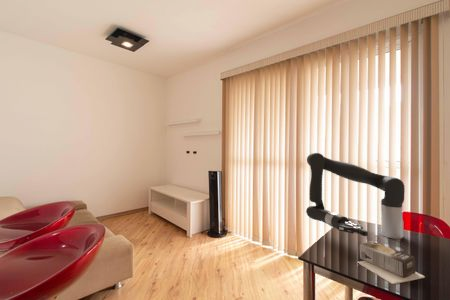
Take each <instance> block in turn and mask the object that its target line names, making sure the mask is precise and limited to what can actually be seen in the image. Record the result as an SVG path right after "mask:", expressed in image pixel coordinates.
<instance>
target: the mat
mask: <svg viewBox="0 0 450 300" xmlns="http://www.w3.org/2000/svg"><path fill="white" fill-rule="evenodd" d="M356 263H357V264H358V263H359V264H358V265H360V266H362V267H363V268H365V269H367V270H368V271H369V272H372V273H373V274H375V275H377V276H378V277H379V278H381V279H383V280H385V281H386V282H387V283H389V284H390V285H397V284H401V283H406V282H410V281H415V280H420V279H425V278H426V277H425V275H423V274H421V273H419V272H417V271H415V273H413V274H411V275H409V276H407V277H405V278H403V277H400V276H398V275H396V274H394V273H392V272H390V271H387V270H385V269H383V268H381V267H379V266H376V265H374V264H372V263H370V262H368V261H365V260H360V261H357V262H356Z"/></svg>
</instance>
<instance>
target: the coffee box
mask: <svg viewBox="0 0 450 300" xmlns="http://www.w3.org/2000/svg"><path fill="white" fill-rule="evenodd" d="M359 259H361V260H362V261H368V262H370V263H372V264H374V265H376V266H379V267H381V268H383V269H385V270H387V271H390V272H392V273H394V274H396V275H398V276H400V277H403V278H405V277H407V276H409V275H411V274H413V273H415V272H416V257H415V256H414V255H411V254H409V253H407V252H403V251H400V250H398V249H394V248H392V247H389V246H386V245H383V244H380V243H378V242H376V241H373V240H369V241H367V242H365V243H364V242H363V243H362V244H359Z"/></svg>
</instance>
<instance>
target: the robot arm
mask: <svg viewBox="0 0 450 300" xmlns="http://www.w3.org/2000/svg"><path fill="white" fill-rule="evenodd" d="M306 163H307V164H308V165H309V166H310V175H311V177H310V184H309V202H311V203H315V205H311V206H308V207H307V208H306V210H305V213H306V215H307V216H308V217H309V219H312V220H315V221H318V222H319V221H320V222H323V223H325V224H326V225H328V226H329V227H331V228H334V229H336V230H338V231H340V232H343V233H344V232H345V233H348V234H349V233H350V234H358V235H361V236H362V237H368V236H369V235H368V234H369V233H368V230H365V229H363V225H362V223H360V222H358V223H357V224H356V223H354V222H352V221H350V220H349V218H348V217H346V216H344V215H341V214H339V213H336V212H334V211H333V212H332V211H330V210H327V209H325V206H324V202H323V174H324V171H327V172H330V173H332V174H335V176H339V177H341V178H344V179H347V180H350V181H352V182H357V183H361V184H366V185H369V186H372V187H375V188H377V189H379V190H381V191H383V192H384V196H383V198H381V201H380V212H381V213H380V214H381V216H380V221H381V223H380V227H381V228H380V229H381V231H380V232H381V233H380V234H381V235H382V236H383V237H386V238H388V239H389V238H390V239H394V240H402V239H403V238H404V220H403V204H404V203H405V192H406V191H405V190H406V189H405V188H406V187H405V183H404V182H403V181H402V180H401V179H399V178H398V177H394V176H393V177H392V176H387V175H383V174H378V173H375V172H372V171H370V170H368V169H366V168H365V167H362V166H359V165H356V164H352V163H349V162H345V161H339V160H334V159H330V158H329V157H325V156H324V155H323V154H322V153H320V152H313V153H310V154H309V155H308V156H307V157H306Z"/></svg>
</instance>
